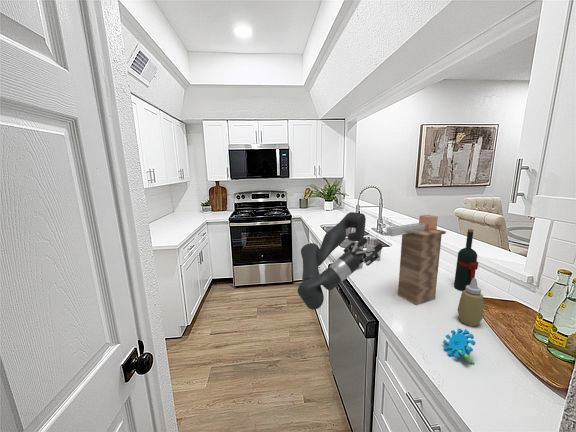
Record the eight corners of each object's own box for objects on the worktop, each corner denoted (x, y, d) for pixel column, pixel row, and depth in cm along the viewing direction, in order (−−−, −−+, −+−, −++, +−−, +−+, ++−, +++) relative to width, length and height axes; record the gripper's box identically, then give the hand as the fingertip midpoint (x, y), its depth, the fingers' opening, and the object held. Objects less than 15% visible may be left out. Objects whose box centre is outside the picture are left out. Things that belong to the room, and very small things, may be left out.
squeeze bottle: (474, 331, 92) (480, 285, 88) (451, 319, 99) (456, 276, 95) (486, 324, 95) (492, 280, 92) (463, 313, 102) (468, 272, 99)
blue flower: (437, 335, 87) (464, 322, 83) (449, 347, 87) (476, 333, 83) (448, 362, 77) (479, 348, 73) (461, 375, 77) (493, 362, 73)
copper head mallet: (393, 236, 100) (394, 222, 99) (384, 234, 104) (385, 220, 103) (438, 229, 110) (439, 216, 109) (427, 227, 115) (428, 214, 113)
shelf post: (416, 307, 108) (422, 235, 101) (394, 294, 118) (399, 229, 112) (438, 299, 113) (445, 231, 107) (415, 288, 124) (421, 225, 118)
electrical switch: (365, 258, 166) (366, 244, 165) (368, 256, 170) (369, 243, 169) (379, 261, 160) (380, 247, 159) (381, 259, 164) (383, 246, 163)
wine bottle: (464, 294, 117) (472, 232, 111) (450, 284, 127) (456, 227, 121) (480, 294, 117) (489, 232, 111) (465, 284, 127) (472, 227, 121)
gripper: (351, 266, 88) (383, 239, 92) (329, 254, 100) (358, 230, 104) (359, 281, 90) (390, 254, 94) (336, 267, 103) (364, 244, 107)
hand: (373, 242), depth 99 cm, fingers open, 8 cm apart
